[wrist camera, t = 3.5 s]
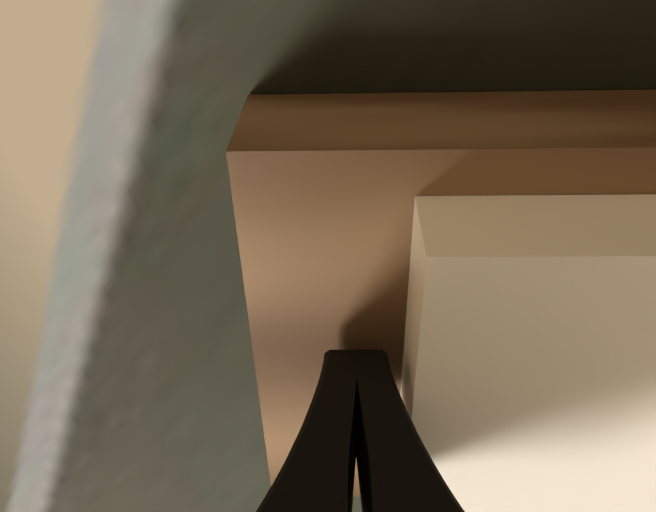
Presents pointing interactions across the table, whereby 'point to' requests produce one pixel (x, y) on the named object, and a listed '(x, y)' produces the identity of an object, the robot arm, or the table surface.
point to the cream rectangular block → (535, 349)
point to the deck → (392, 207)
